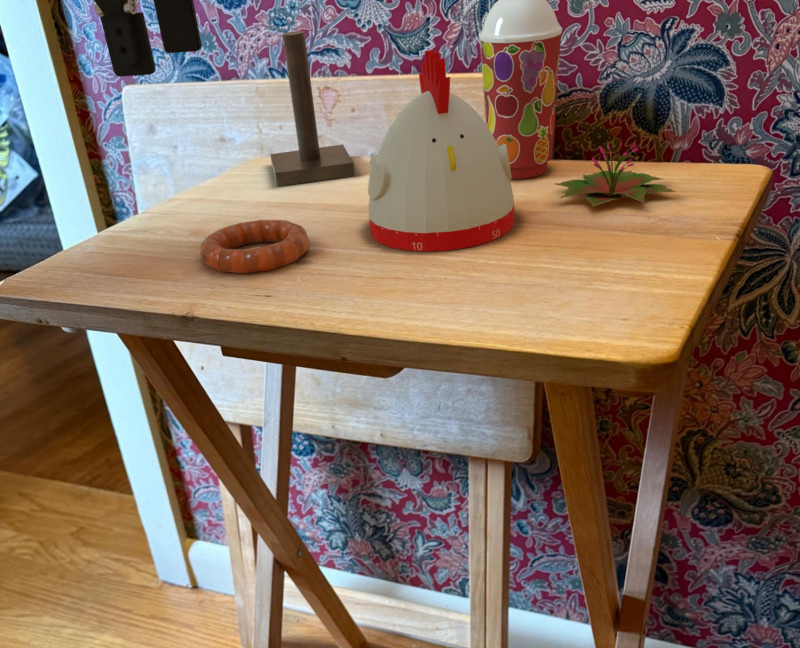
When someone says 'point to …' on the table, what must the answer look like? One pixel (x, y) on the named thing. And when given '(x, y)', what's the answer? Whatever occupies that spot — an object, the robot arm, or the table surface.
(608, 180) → the lily flower
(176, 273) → the table surface
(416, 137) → the kitchen timer
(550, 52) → the smoothie
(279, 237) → the ring
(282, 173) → the peg stand
